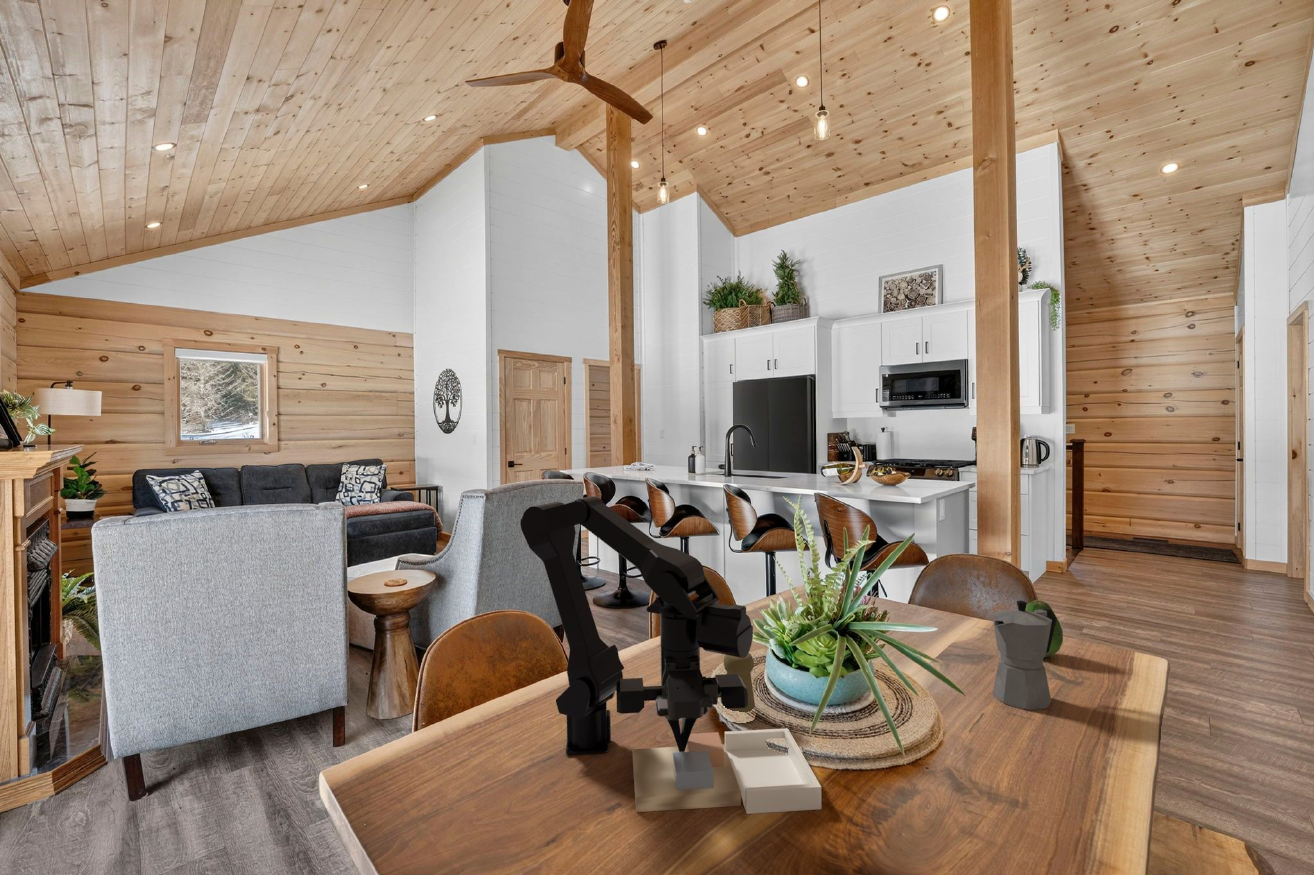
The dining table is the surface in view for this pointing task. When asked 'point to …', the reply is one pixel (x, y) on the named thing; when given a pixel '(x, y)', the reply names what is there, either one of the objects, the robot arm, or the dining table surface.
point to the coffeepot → (1023, 656)
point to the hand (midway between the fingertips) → (681, 750)
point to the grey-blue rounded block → (692, 770)
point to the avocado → (1058, 631)
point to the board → (660, 788)
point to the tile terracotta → (707, 747)
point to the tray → (771, 773)
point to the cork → (742, 676)
